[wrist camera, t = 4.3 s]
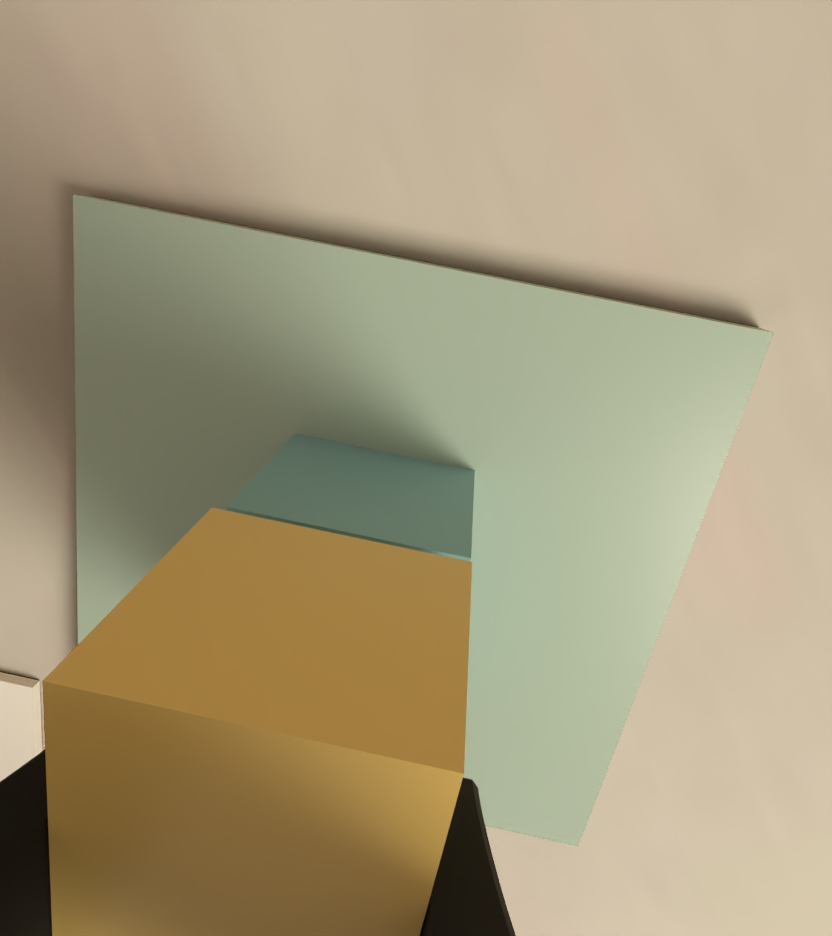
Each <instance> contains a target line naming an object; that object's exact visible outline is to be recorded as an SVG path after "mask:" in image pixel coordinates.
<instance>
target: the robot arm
mask: <svg viewBox="0 0 832 936" xmlns="http://www.w3.org/2000/svg"><path fill="white" fill-rule="evenodd" d="M0 936H52V915H51V888H50V862H49V836H48V809H47V783H46V757H45V750H43V751H42V752H41V753H39V754H38V755H37V756H35V757H34V758H32V759H31V760H30V761H28V762H27V763H25V764H24V765H23V766H21V767H20V768H19V769H17V770H16V771H14V772H13V773H12V774H10V775H9V776H7V777H6V778H5V779H3V780H2V781H0ZM420 936H515V932H514V929H513V926H512V923H511V920H510V917H509V913H508V910H507V907H506V904H505V900H504V897H503V893H502V890H501V887H500V883H499V879H498V876H497V872H496V868H495V864H494V860H493V857H492V853H491V849H490V845H489V841H488V837H487V832H486V828H485V823H484V819H483V814H482V809H481V804H480V798H479V791H478V787H477V786H476V784H475V783H474V781H473V780H472V779H468V778H463V779H462V783H461V787H460V790H459V794H458V797H457V801H456V805H455V808H454V812H453V816H452V819H451V823H450V827H449V830H448V834H447V837H446V841H445V845H444V848H443V852H442V856H441V859H440V863H439V867H438V870H437V874H436V877H435V881H434V885H433V888H432V892H431V896H430V899H429V903H428V907H427V910H426V914H425V918H424V921H423V925H422V928H421V932H420Z"/></svg>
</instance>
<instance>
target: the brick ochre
mask: <svg viewBox="0 0 832 936" xmlns="http://www.w3.org/2000/svg"><path fill="white" fill-rule="evenodd" d="M471 580H472V562H469V561H465V560H460V559H455V558H450V557H446V556H441V555H436V554H431V553H427V552H422V551H417V550H412V549H408V548H403V547H398V546H393V545H388V544H384V543H379V542H374V541H369V540H365V539H360V538H355V537H350V536H346V535H341V534H336V533H331V532H327V531H322V530H317V529H312V528H308V527H303V526H298V525H293V524H289V523H284V522H279V521H274V520H270V519H265V518H260V517H255V516H250V515H246V514H241V513H236V512H231V511H227V510H222V509H217V508H211V509H210V510H209V511H208V512H207V513H206V514H205V515H204V516H203V517H202V518H201V519H200V520H199V521H198V522H197V523H196V524H195V525H194V526H193V527H192V528H191V529H190V530H189V532H188V533H187V534H186V535H185V536H184V537H183V538H182V539H181V540H180V541H179V542H178V543H177V544H176V545H175V546H174V547H173V548H172V549H171V550H170V551H169V552H168V553H167V554H166V555H165V556H164V557H163V558H162V559H161V560H160V561H159V562H158V563H157V564H156V565H155V566H154V567H153V568H152V569H151V570H150V571H149V573H148V574H147V575H146V576H145V577H144V578H143V579H142V580H141V581H140V582H139V583H138V584H137V585H136V586H135V587H134V588H133V589H132V590H131V591H130V592H129V593H128V594H127V595H126V596H125V597H124V598H123V599H122V600H121V601H120V602H119V603H118V604H117V605H116V606H115V607H114V608H113V609H112V610H111V611H110V612H109V614H108V615H107V616H106V617H105V618H104V619H103V620H102V621H101V622H100V623H99V624H98V625H97V626H96V627H95V628H94V629H93V630H92V631H91V632H90V633H89V634H88V635H87V636H86V637H85V638H84V639H83V640H82V641H81V642H80V643H79V644H78V645H77V646H76V647H75V648H74V649H73V650H72V651H71V652H70V653H69V655H68V656H67V657H66V658H65V659H64V660H63V661H62V662H61V663H60V664H59V665H58V666H57V667H56V668H55V669H54V670H53V671H52V672H51V673H50V674H49V675H48V676H47V677H46V678H45V679H44V680H43V704H44V730H45V757H46V783H47V809H48V836H49V862H50V888H51V915H52V936H420V932H421V928H422V925H423V921H424V918H425V914H426V910H427V907H428V903H429V899H430V896H431V892H432V888H433V885H434V881H435V877H436V874H437V870H438V867H439V863H440V859H441V856H442V852H443V848H444V845H445V841H446V837H447V834H448V830H449V827H450V823H451V819H452V816H453V812H454V808H455V805H456V801H457V797H458V794H459V790H460V787H461V783H462V779H463V776H464V761H465V735H466V709H467V684H468V658H469V632H470V606H471Z"/></svg>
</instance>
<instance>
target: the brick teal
mask: <svg viewBox="0 0 832 936" xmlns="http://www.w3.org/2000/svg"><path fill="white" fill-rule="evenodd" d="M474 476H475V470H470V469H465V468H461V467H456V466H451V465H446V464H441V463H436V462H431V461H427V460H422V459H417V458H412V457H407V456H402V455H398V454H393V453H388V452H383V451H378V450H373V449H368V448H364V447H359V446H354V445H349V444H344V443H339V442H335V441H330V440H325V439H320V438H315V437H310V436H305V435H301V434H296V433H295V434H294V435H293V436H292V437H291V438H290V440H289V441H288V442H287V443H286V444H285V445H284V446H283V447H282V448H281V449H280V450H279V451H278V453H277V454H276V455H275V456H274V457H273V458H272V459H271V460H270V461H269V462H268V463H267V464H266V466H265V467H264V468H263V469H262V470H261V471H260V472H259V473H258V474H257V475H256V476H255V477H254V478H253V480H252V481H251V482H250V483H249V484H248V485H247V486H246V487H245V488H244V489H243V490H242V491H241V493H240V494H239V495H238V496H237V497H236V498H235V499H234V500H233V501H232V502H231V503H230V504H229V506H228V507H227V511H231V512H236V513H241V514H246V515H250V516H255V517H260V518H265V519H270V520H274V521H279V522H284V523H289V524H293V525H298V526H303V527H308V528H312V529H317V530H322V531H327V532H331V533H336V534H341V535H346V536H350V537H355V538H360V539H365V540H369V541H374V542H379V543H384V544H388V545H393V546H398V547H403V548H408V549H412V550H417V551H422V552H427V553H431V554H436V555H441V556H446V557H450V558H455V559H460V560H465V561H469V562H470V561H471V549H472V525H473V500H474Z"/></svg>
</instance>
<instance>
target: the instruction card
mask: <svg viewBox="0 0 832 936" xmlns="http://www.w3.org/2000/svg"><path fill="white" fill-rule="evenodd" d="M41 752H42V732H41V706H40V681H38V680H34V679H29V678H25V677H20V676H16V675H11V674H6V673H2V672H0V781H2V780H3V779H5V778H6V777H7V776H9V775H10V774H12V773H13V772H14V771H16V770H17V769H19V768H20V767H21V766H23V765H24V764H25V763H27V762H28V761H30V760H31V759H32V758H34V757H35V756H37V755H38V754H39V753H41Z"/></svg>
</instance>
